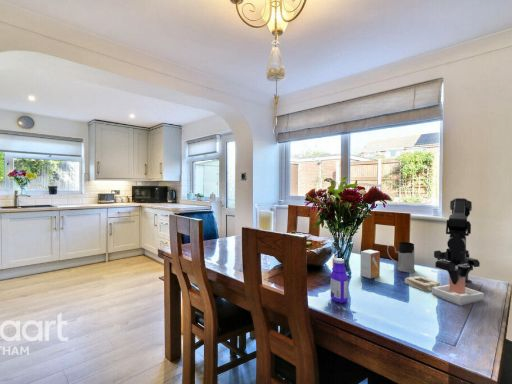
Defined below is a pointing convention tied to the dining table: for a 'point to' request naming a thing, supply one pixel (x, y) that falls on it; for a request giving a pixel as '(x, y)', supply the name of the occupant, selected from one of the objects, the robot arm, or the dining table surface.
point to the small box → (370, 263)
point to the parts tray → (458, 295)
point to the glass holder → (405, 256)
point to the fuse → (458, 285)
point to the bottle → (339, 281)
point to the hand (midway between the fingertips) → (457, 283)
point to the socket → (422, 283)
